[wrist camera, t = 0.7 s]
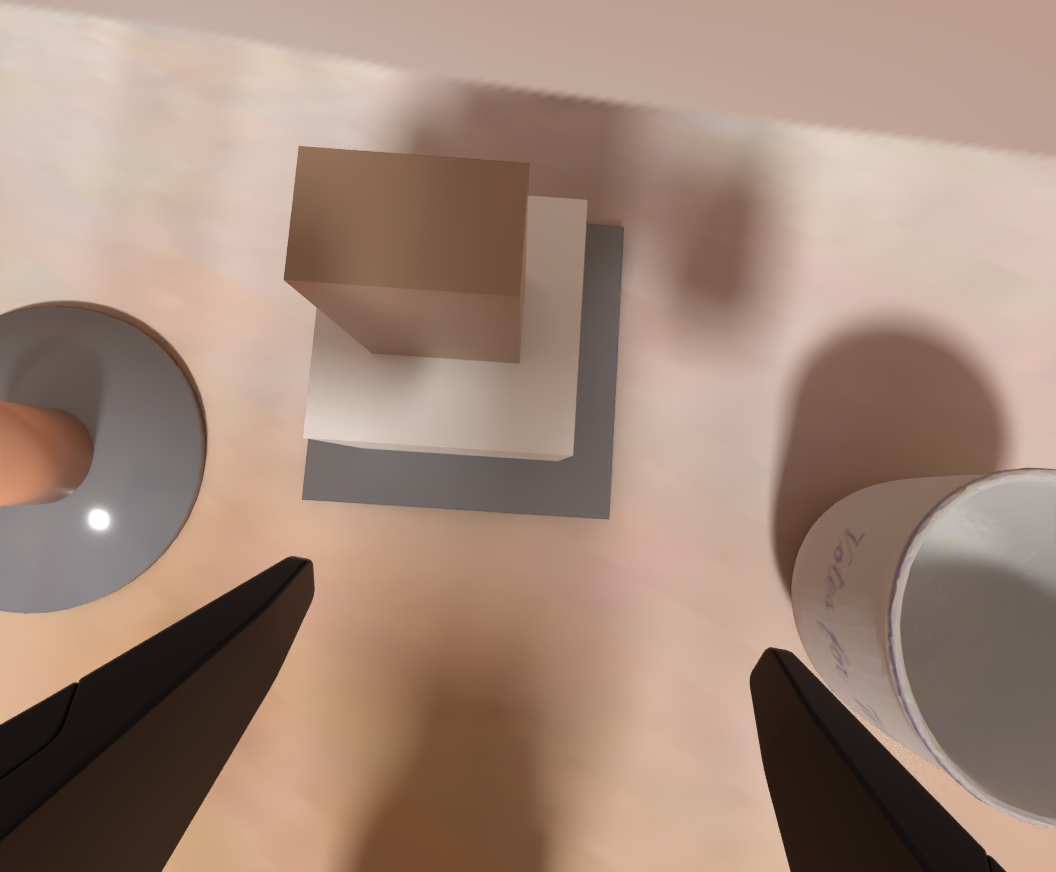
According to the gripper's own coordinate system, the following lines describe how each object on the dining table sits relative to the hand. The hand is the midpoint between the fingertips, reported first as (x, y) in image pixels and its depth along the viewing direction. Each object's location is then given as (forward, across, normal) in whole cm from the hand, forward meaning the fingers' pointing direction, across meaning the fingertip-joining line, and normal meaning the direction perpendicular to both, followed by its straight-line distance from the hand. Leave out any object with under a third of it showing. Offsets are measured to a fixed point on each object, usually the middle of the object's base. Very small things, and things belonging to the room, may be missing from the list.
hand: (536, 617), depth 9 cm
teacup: (+11, -17, +8) cm, 22 cm away
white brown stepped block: (+14, +4, 0) cm, 15 cm away
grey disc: (+10, +22, +7) cm, 26 cm away
